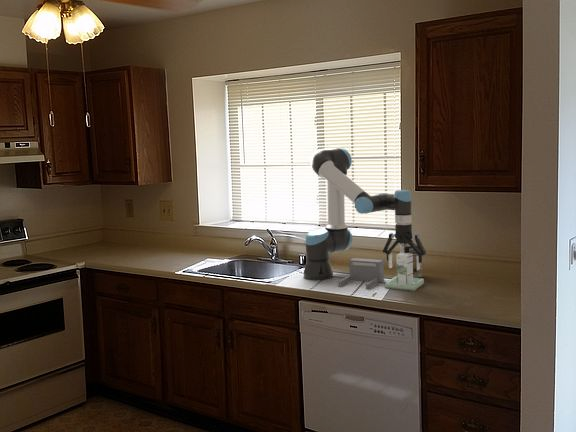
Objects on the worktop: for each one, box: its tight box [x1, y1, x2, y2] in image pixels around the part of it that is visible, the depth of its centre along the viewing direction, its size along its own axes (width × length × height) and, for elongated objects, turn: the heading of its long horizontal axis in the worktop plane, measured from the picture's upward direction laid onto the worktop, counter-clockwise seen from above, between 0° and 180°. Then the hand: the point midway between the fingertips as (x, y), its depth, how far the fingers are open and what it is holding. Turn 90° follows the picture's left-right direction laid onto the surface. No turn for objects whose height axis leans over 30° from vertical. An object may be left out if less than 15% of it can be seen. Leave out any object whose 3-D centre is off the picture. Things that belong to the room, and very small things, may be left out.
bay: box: [337, 257, 385, 290], centre depth 293 cm, size 16×19×10 cm
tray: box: [384, 276, 425, 292], centre depth 285 cm, size 14×14×2 cm
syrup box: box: [395, 252, 413, 285], centre depth 284 cm, size 6×6×14 cm
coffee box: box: [399, 243, 423, 278], centre depth 301 cm, size 9×6×16 cm
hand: (404, 268), depth 284 cm, fingers open, 13 cm apart
